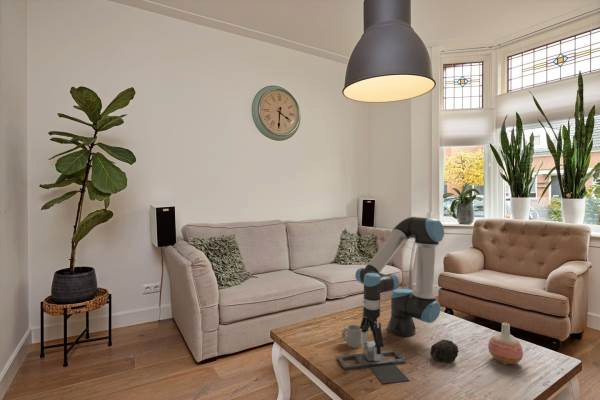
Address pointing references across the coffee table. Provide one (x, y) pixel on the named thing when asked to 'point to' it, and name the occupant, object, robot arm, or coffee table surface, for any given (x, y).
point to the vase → (505, 346)
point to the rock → (444, 351)
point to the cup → (352, 336)
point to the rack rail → (364, 364)
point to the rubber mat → (389, 374)
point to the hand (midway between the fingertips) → (370, 352)
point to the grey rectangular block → (369, 351)
